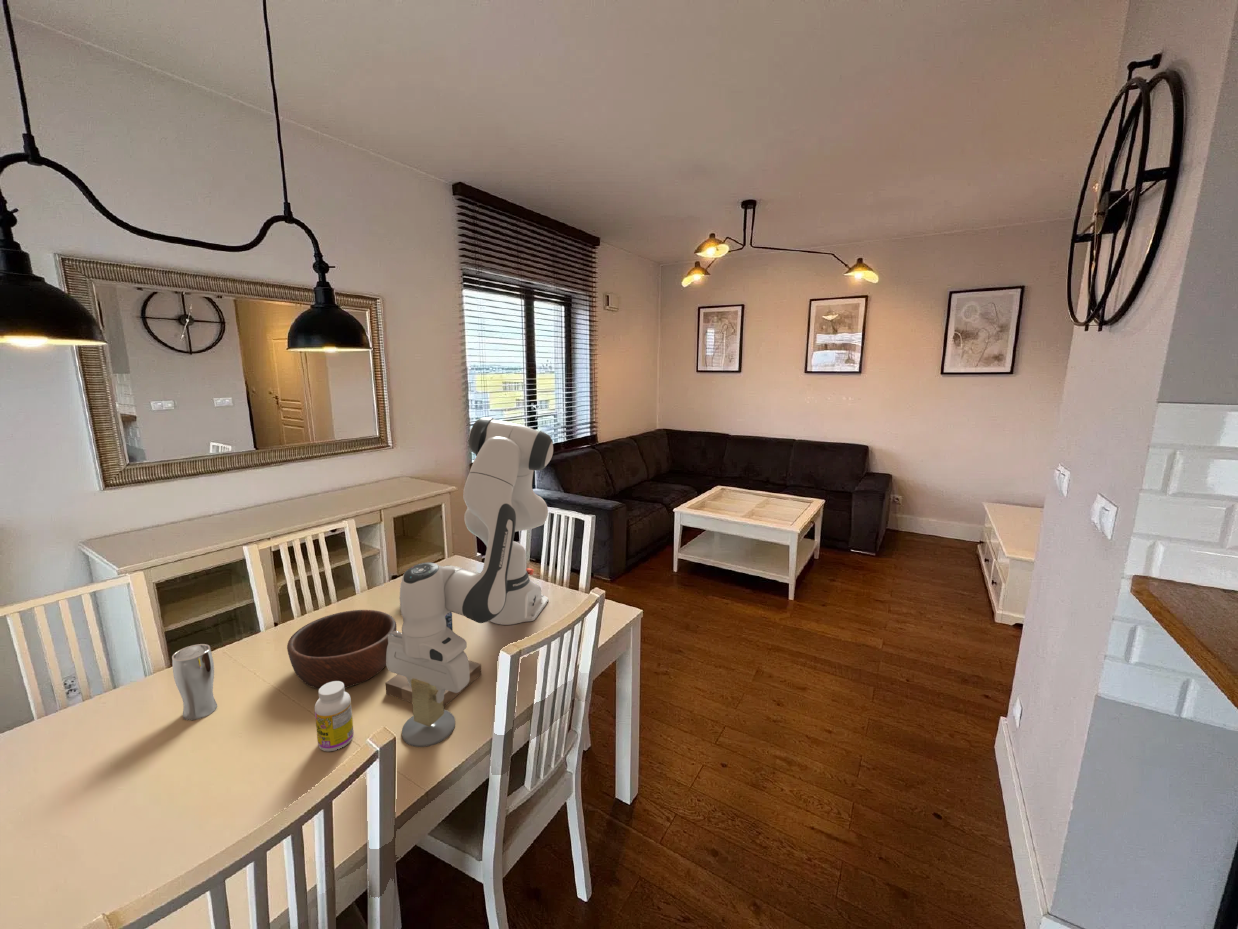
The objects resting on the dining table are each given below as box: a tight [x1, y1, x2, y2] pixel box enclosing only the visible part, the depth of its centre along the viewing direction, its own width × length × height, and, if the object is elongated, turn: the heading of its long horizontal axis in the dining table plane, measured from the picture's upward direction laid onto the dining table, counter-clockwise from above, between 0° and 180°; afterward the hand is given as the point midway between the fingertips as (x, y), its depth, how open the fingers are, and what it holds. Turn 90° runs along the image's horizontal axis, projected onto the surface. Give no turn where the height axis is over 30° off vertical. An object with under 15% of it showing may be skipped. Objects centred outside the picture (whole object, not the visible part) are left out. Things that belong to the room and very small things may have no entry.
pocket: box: [384, 659, 482, 707], centre depth 127 cm, size 16×16×3 cm
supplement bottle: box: [314, 681, 354, 752], centre depth 106 cm, size 7×7×13 cm
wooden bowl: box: [286, 609, 397, 690], centre depth 132 cm, size 25×25×10 cm
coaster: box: [401, 709, 456, 748], centre depth 112 cm, size 11×11×1 cm
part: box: [411, 679, 445, 727], centre depth 110 cm, size 4×4×10 cm
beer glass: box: [171, 643, 218, 721], centre depth 114 cm, size 7×7×15 cm
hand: (428, 697), depth 110 cm, fingers closed on part, 4 cm apart
